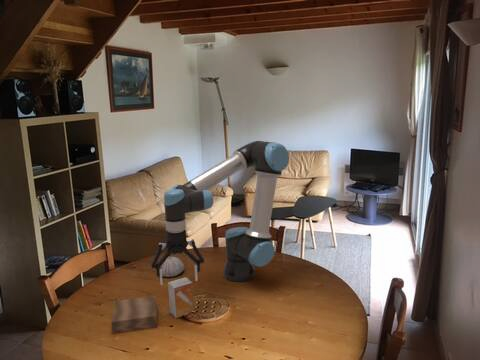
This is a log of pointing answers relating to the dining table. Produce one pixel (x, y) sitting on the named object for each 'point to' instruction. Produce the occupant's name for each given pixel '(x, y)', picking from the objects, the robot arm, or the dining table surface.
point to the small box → (180, 297)
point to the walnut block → (134, 314)
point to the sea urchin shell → (172, 267)
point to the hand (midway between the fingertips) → (179, 281)
